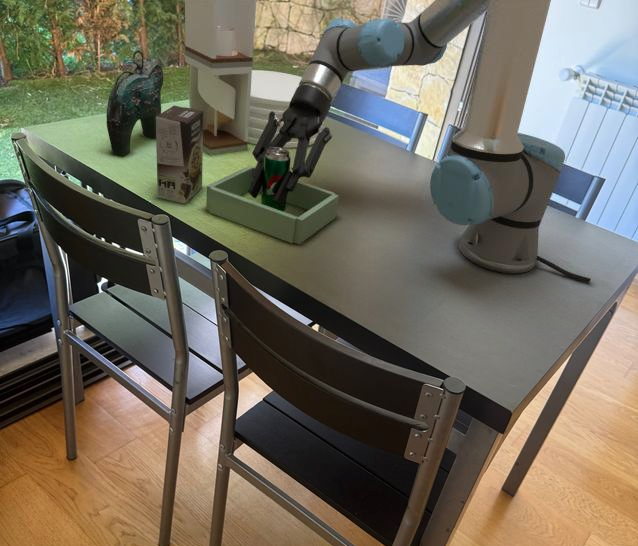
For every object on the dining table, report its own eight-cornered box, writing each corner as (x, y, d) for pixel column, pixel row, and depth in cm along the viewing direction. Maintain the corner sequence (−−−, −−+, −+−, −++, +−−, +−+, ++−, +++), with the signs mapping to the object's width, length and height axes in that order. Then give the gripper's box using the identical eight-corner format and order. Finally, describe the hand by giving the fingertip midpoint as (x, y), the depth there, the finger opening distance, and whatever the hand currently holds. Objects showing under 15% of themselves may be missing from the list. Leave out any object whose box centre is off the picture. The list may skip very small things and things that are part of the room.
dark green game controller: (147, 129, 150) (144, 42, 138) (171, 135, 149) (170, 48, 137) (103, 153, 134) (95, 57, 122) (129, 160, 133) (124, 63, 121)
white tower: (185, 138, 149) (185, -26, 127) (221, 134, 155) (227, -24, 134) (210, 155, 142) (214, -16, 121) (247, 149, 148) (257, -14, 127)
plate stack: (320, 153, 153) (327, 107, 146) (210, 138, 151) (211, 91, 144) (322, 120, 175) (328, 79, 168) (226, 107, 173) (228, 64, 166)
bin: (336, 217, 124) (340, 194, 121) (297, 245, 112) (300, 221, 109) (249, 186, 131) (251, 164, 128) (204, 210, 119) (204, 186, 116)
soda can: (290, 211, 121) (296, 153, 114) (272, 217, 118) (277, 157, 111) (273, 202, 124) (278, 144, 116) (255, 207, 120) (259, 148, 113)
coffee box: (187, 204, 120) (187, 122, 110) (156, 198, 120) (153, 115, 110) (203, 188, 127) (204, 110, 117) (174, 182, 127) (173, 103, 118)
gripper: (359, 118, 119) (310, 221, 117) (281, 96, 124) (232, 194, 122) (352, 95, 112) (299, 204, 109) (269, 72, 117) (218, 176, 115)
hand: (264, 199), depth 116 cm, fingers closed on soda can, 5 cm apart
